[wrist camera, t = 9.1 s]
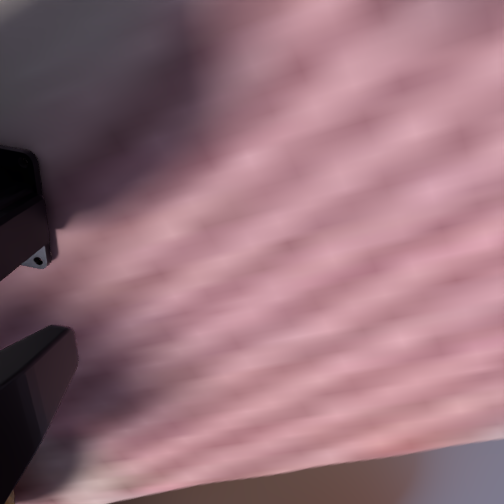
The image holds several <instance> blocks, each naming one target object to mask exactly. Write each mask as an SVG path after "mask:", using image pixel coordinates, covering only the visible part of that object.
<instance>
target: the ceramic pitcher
mask: <svg viewBox="0 0 504 504" xmlns="http://www.w3.org/2000/svg"><path fill="white" fill-rule="evenodd" d="M14 497H15V495H14V491H12V492H11V494H10V496H9V497H8V499H7V500H6V502H5V504H15V502H14Z"/></svg>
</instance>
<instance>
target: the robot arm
mask: <svg viewBox="0 0 504 504" xmlns="http://www.w3.org/2000/svg"><path fill="white" fill-rule="evenodd" d="M23 158H25V159H26V160H27V162H28V165H27V164H26V163H25V162H24V160H23ZM49 241H50V238H49V231H48V223H47V216H46V208H45V201H44V198H43V194H42V186H41V179H40V171H39V164H38V160H37V157H36V156H35V155H34V154H33V153H32V152H31V151H28V150H24V149H19V148H13V147H8V146H3V145H0V281H1V280H2V279H4V278H5V277H6V276H7V275H9V274H10V273H11V272H12V271H14V270H15V269H16V268H17V267H19V266H20V265H23V266H28V267H33V268H38V269H44V268H46V267H47V266H48V265H49V264H50V263H51V253H50V245H49ZM39 258H41V259H42V261H41V260H40V259H39ZM77 365H78V351H77V344H76V338H75V333H74V330H73V329H72V328H70V327H65V326H60V325H50V326H48V327H46V328H44V329H42V330H40V331H38V332H36V333H34V334H32V335H30V336H28V337H26V338H24V339H22V340H20V341H18V342H16V343H14V344H12V345H10V346H8V347H7V348H5V349H3V350H1V351H0V504H5V502H6V500H7V499H8V497H9V496H10V494H11V492H12V491H13V489H14V487H15V486H16V484H17V482H18V481H19V479H20V477H21V476H22V474H23V472H24V471H25V469H26V467H27V466H28V464H29V462H30V461H31V459H32V457H33V456H34V454H35V452H36V451H37V449H38V447H39V445H40V444H41V442H42V440H43V438H44V436H45V434H46V432H47V430H48V428H49V426H50V424H51V422H52V420H53V418H54V415H55V413H56V411H57V409H58V407H59V405H60V403H61V401H62V398H63V396H64V394H65V392H66V390H67V388H68V386H69V384H70V381H71V379H72V377H73V375H74V373H75V371H76V368H77Z"/></svg>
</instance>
